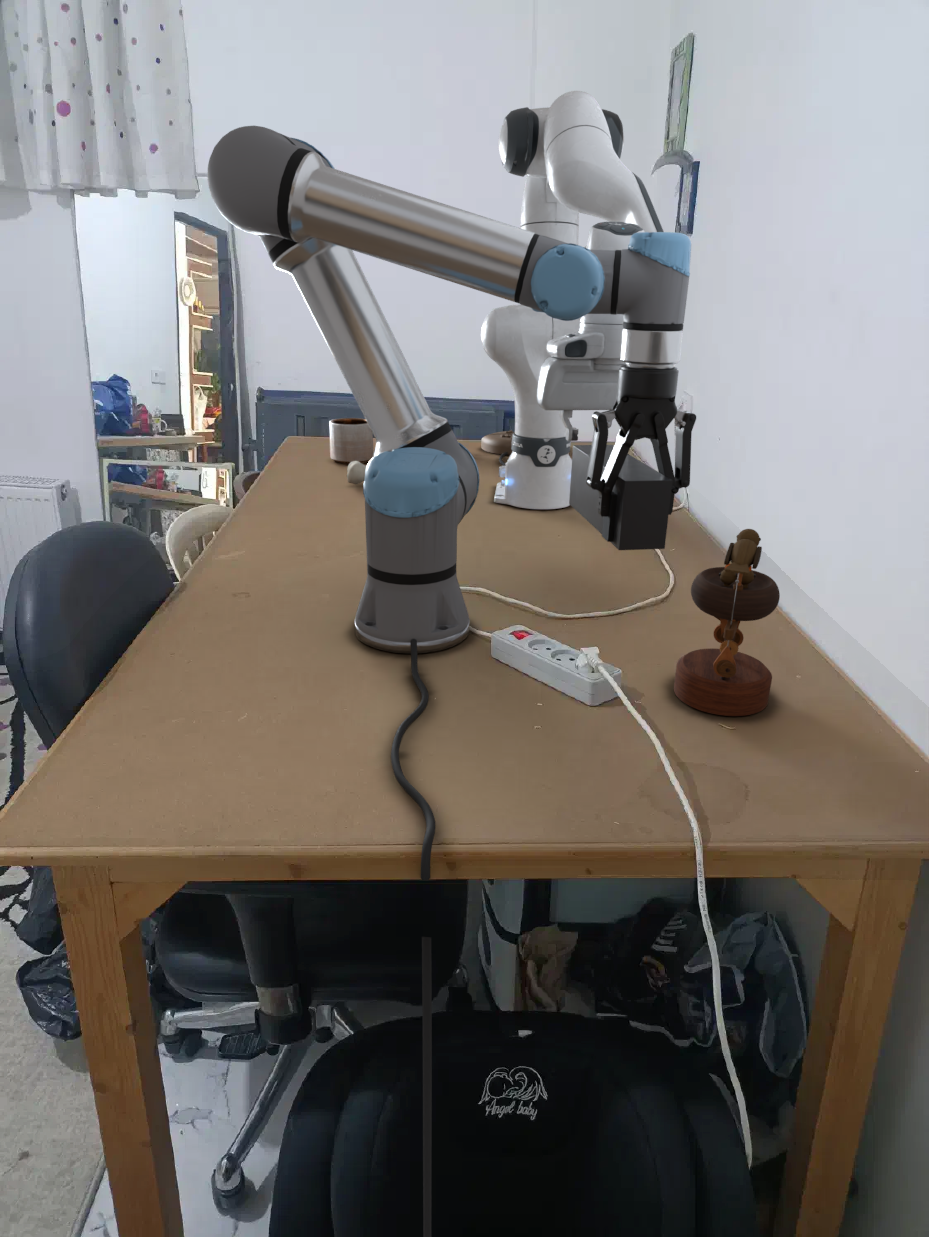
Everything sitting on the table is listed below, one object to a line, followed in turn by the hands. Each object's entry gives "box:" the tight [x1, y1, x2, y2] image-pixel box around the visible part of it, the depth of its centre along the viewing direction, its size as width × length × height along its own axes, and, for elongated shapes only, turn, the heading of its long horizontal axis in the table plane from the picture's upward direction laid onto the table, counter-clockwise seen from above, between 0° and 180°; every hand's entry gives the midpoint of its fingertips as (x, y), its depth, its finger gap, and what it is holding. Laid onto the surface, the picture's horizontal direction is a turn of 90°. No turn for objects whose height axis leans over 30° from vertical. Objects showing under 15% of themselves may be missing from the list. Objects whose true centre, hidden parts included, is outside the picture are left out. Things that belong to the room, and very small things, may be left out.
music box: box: [673, 528, 781, 717], centre depth 94 cm, size 15×11×20 cm
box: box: [569, 444, 672, 551], centre depth 123 cm, size 24×6×9 cm, turn 9°
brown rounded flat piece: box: [480, 429, 515, 456], centre depth 224 cm, size 21×28×4 cm
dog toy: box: [346, 461, 367, 485], centre depth 190 cm, size 20×6×5 cm, turn 99°
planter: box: [328, 417, 375, 464], centre depth 212 cm, size 11×11×10 cm
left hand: (632, 537), depth 117 cm, fingers closed on box, 6 cm apart
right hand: (601, 440), depth 128 cm, fingers open, 8 cm apart
